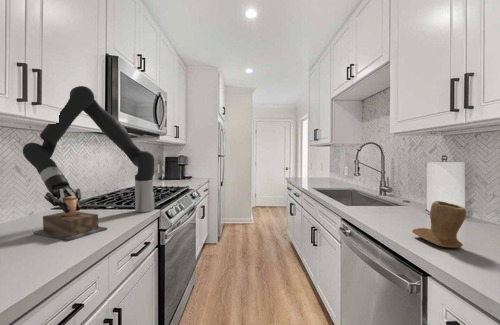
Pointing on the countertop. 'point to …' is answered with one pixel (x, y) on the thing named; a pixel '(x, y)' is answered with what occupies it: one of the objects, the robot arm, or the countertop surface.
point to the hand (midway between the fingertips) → (73, 210)
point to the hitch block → (69, 226)
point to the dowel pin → (71, 206)
